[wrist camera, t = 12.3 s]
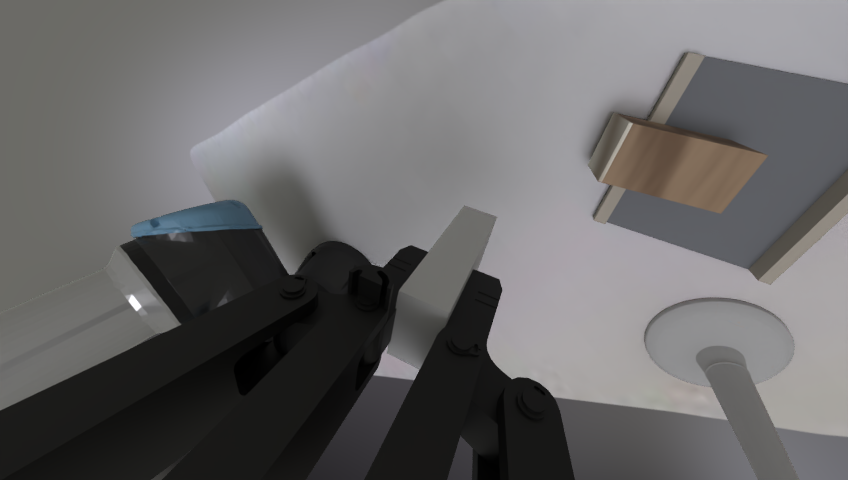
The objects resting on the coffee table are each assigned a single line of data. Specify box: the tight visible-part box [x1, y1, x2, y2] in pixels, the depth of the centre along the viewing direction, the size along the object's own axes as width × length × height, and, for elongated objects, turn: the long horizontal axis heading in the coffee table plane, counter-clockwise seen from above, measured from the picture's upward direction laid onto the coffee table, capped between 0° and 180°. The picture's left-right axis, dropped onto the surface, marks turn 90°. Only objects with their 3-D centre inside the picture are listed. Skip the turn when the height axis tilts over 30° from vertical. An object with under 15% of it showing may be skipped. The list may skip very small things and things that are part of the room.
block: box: [588, 113, 768, 214], centre depth 27 cm, size 5×5×10 cm
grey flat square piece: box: [593, 52, 848, 285], centre depth 27 cm, size 16×16×2 cm
